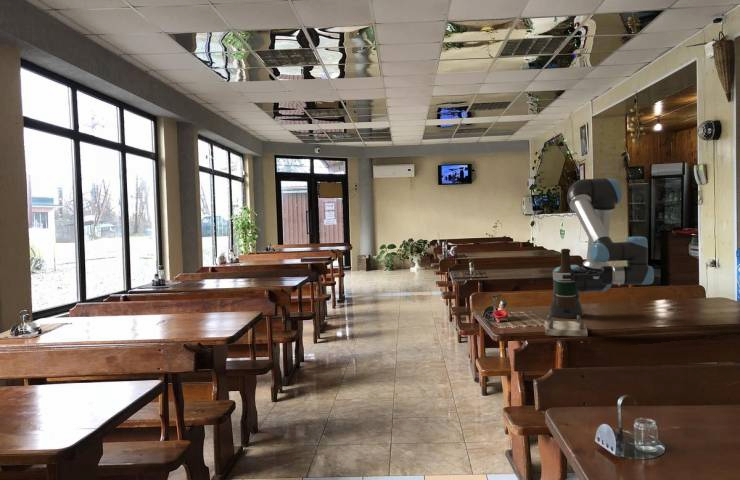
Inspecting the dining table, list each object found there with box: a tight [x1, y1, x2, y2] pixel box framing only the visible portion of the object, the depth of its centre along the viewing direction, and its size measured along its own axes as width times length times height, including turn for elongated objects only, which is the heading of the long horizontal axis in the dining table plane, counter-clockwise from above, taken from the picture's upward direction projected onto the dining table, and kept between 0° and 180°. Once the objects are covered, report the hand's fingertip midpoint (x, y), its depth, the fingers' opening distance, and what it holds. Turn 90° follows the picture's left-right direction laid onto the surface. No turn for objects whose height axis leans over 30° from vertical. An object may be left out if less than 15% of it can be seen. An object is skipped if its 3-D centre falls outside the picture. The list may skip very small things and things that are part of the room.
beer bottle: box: [556, 248, 576, 308], centre depth 243 cm, size 8×8×24 cm
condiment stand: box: [544, 314, 588, 337], centre depth 244 cm, size 16×16×6 cm
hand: (553, 275), depth 244 cm, fingers closed on beer bottle, 7 cm apart
